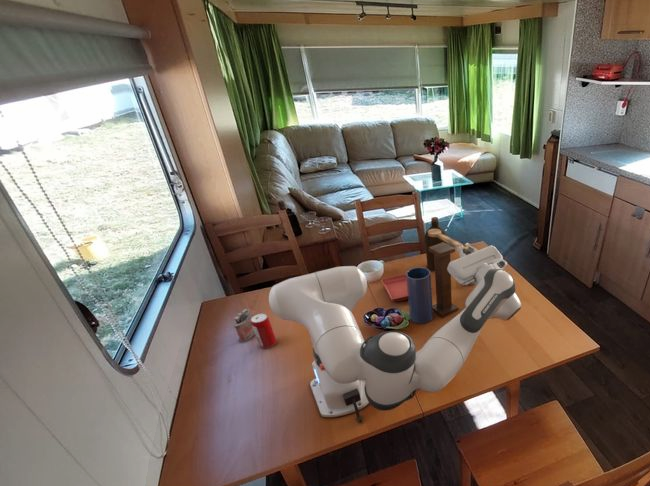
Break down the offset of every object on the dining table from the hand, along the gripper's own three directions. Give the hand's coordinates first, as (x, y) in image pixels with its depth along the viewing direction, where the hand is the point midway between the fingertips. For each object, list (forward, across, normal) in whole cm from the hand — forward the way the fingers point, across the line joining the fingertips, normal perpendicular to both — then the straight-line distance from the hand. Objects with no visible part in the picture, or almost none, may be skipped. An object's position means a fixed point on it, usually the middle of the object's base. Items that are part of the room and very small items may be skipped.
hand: (462, 245), depth 130 cm
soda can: (+15, -61, -47) cm, 79 cm away
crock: (-5, -10, -36) cm, 37 cm away
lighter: (+24, -65, -52) cm, 87 cm away
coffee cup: (+2, +22, -40) cm, 45 cm away
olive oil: (+20, +20, -50) cm, 57 cm away
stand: (-6, 0, -34) cm, 35 cm away
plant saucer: (+13, -4, -46) cm, 48 cm away
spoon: (+7, 0, -5) cm, 8 cm away
